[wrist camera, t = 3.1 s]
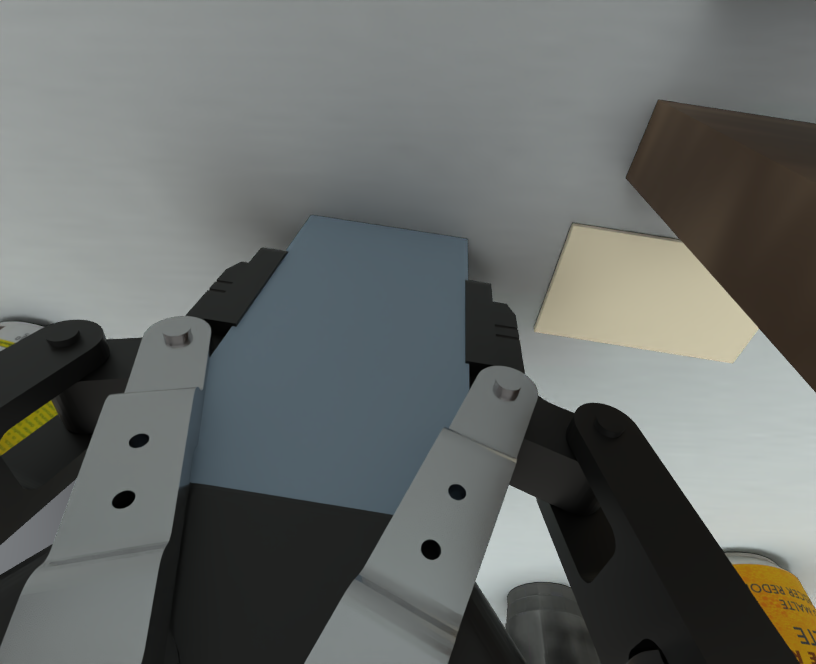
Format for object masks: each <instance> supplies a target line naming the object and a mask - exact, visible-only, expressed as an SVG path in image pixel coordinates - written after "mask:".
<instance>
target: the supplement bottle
mask: <svg viewBox="0 0 816 664" xmlns="http://www.w3.org/2000/svg"><path fill="white" fill-rule="evenodd" d="M42 328H44V327H43V326H39V325H36V324H31V323H26V322H1V323H0V351H2V350H3V349H5V348H7V347H9V346H11V345H13V344H14V343H16V342H18V341H20V340H22V339H23V338H25V337H27V336H29V335H31V334H32V333H34V332H36V331H38V330H40V329H42ZM56 415H58V413H57V411H56V409H55V407H54V405H53V403H52V401H49V402H48V403H46V404H45V405H44V406H42V407H41V408H39V409H38V410H36V411H35V412H33V413H32V414H31V415H29V416H28V417H26V418H25V419H23V420H22V421H20V422H19V423H18V424H16V425H15V426H13V427H12V428H11V429H9V430H8V431H7V432H6V433H5V434H4V435H3V437H2V438H1V440H0V456H1V455H3V454H4V453H5V452H7V451H8V450H9V449H11V448H12V447H14V446H15V445H16V444H18V443H19V442H20V441H22V440H23V439H25V438H26V437H27V436H29V435H30V434H31V433H33V432H34V431H36V430H37V429H38V428H40V427H41V426H42V425H44V424H45V423H47V422H48V421H49V420H51V419H52V418H53V417H55V416H56Z"/></svg>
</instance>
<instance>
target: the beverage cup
mask: <svg viewBox="0 0 816 664" xmlns="http://www.w3.org/2000/svg"><path fill="white" fill-rule="evenodd" d="M507 602H508V609H507V623H506V631H507V632H508V634H509V635H510V637H511V638H512V640H513V642H514V643H515V645H516V646H517V648H518V649H519V651H520V653H521V654H522V656H523V657H524V659H525V660H526V662H527V664H601V662H600V659H599V657H598V654H597V652H596V649H595V647H594V644H593V642H592V639H591V636H590V634H589V631H588V629H587V626H586V624H585V621H584V619H583V616H582V614H581V611H580V609H579V606H578V604H577V601H576V599H575V596H574V594H573V591H572V589H571V588H570V587H567V586H564V585H560V584H554V583H531V584H525V585H522V586H519V587H516V588H515V589H513V590H512V591H510V592H509V594H508V596H507Z"/></svg>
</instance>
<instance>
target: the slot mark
mask: <svg viewBox="0 0 816 664" xmlns="http://www.w3.org/2000/svg"><path fill="white" fill-rule="evenodd" d="M758 329H759V328H758V327H757V326H756V324H755V323H754V322H753V321H752V320H751V319H750V318H749V317H748V315H747V314H746V313H745V312H744V311H743V310H742V309H741V308H740V306H739V305H738V304H737V303H736V302H735V301H734V300H733V299H732V297H731V296H730V295H729V294H728V293H727V292H726V291H725V290H724V288H723V287H722V286H721V285H720V284H719V283H718V282H717V280H716V279H715V278H714V277H713V276H712V275H711V274H710V273H709V271H708V270H707V269H706V268H705V267H704V266H703V265H702V264H701V262H700V261H699V260H698V259H697V258H696V257H695V256H694V255H693V253H692V252H691V251H690V250H689V249H688V248H687V247H686V246H685V244H684V243H683V242H682V241H681V240H678V239H671V238H665V237H659V236H652V235H646V234H639V233H633V232H627V231H620V230H614V229H608V228H601V227H595V226H588V225H582V224H576V223H572V225H571V228H570V231H569V233H568V236H567V239H566V242H565V244H564V247H563V250H562V253H561V255H560V258H559V261H558V264H557V266H556V269H555V272H554V275H553V277H552V280H551V283H550V286H549V288H548V291H547V294H546V296H545V299H544V302H543V305H542V307H541V310H540V313H539V316H538V318H537V321H536V324H535V327H534V332H538V333H544V334H550V335H557V336H563V337H569V338H576V339H582V340H588V341H595V342H601V343H607V344H613V345H620V346H626V347H632V348H639V349H645V350H651V351H658V352H664V353H670V354H677V355H683V356H689V357H695V358H702V359H708V360H714V361H721V362H727V363H734V361H735V360H736V359H737V357H738V356H739V355H740V353H741V352H742V351H743V349H744V348H745V347H746V345H747V344H748V343H749V341H750V340H751V339H752V337H753V336H754V335H755V333H756V332H757V331H758Z"/></svg>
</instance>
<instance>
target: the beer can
mask: <svg viewBox="0 0 816 664" xmlns="http://www.w3.org/2000/svg"><path fill="white" fill-rule="evenodd" d="M725 555H726V556H727V558H728V559H729V561H730V562H731V563H732V565H733V566H734V568H735V569H736V571H737V572H738V574H739V575H740V577H741V578H742V579H743V581H744V582H745V584H746V585H747V587H748V588H749V590H750V591H751V593H752V594H753V595H754V597H755V598H756V600H757V601H758V603H759V604H760V606H761V607H762V609H763V610H764V611H765V613H766V614H767V616H768V617H769V619H770V620H771V622H772V623H773V625H774V626H775V627H776V629H777V630H778V632H779V633H780V635H781V636H782V638H783V639H784V641H785V642H786V644H787V645H788V646H789V648H790V649H791V651H792V652H793V654H794V655H795V657H796V658H797V660H798V661H799V662H800V664H816V609H815V607H814V606H813V604H812V602H811V600H810V599H809V597H808V595H807V594H806V592H805V590H804V588H803V587H802V585H801V583H800V581H799V580H798V578H797V577H796V576H795V575H793V574H792V573H790V572H788V571H786V570H784V569H782V568H780V567H778V566H777V564H776V563H774V562H773V561H772V560H770V559H768V558H766V557H763V556H760V555H756V554H751V553H740V552H730V553H725Z"/></svg>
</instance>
